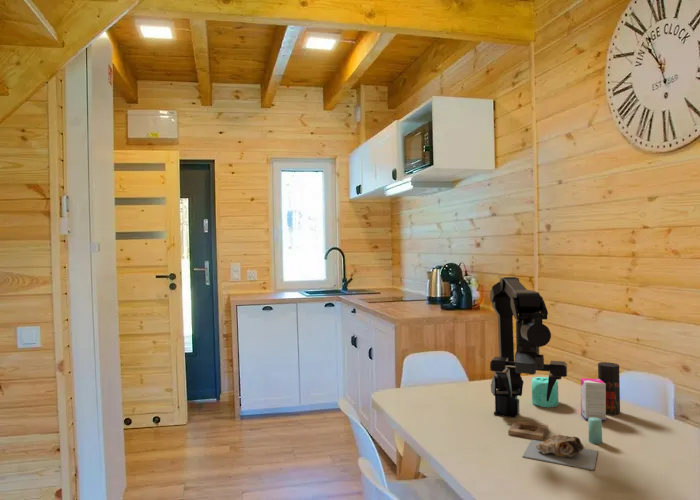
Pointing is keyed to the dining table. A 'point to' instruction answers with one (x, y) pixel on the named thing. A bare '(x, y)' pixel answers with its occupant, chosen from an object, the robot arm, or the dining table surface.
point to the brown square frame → (517, 431)
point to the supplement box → (593, 399)
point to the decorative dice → (544, 392)
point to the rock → (561, 445)
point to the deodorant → (610, 386)
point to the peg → (595, 430)
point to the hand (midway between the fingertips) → (528, 399)
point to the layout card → (563, 457)
